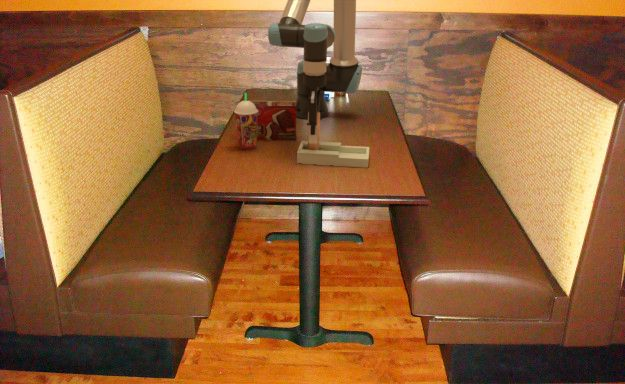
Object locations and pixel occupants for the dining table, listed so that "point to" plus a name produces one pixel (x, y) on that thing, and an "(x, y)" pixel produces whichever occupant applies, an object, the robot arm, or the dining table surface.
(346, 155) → the slot board
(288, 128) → the ice cream box
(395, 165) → the dining table surface
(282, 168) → the dining table surface
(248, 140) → the smoothie
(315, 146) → the peg
